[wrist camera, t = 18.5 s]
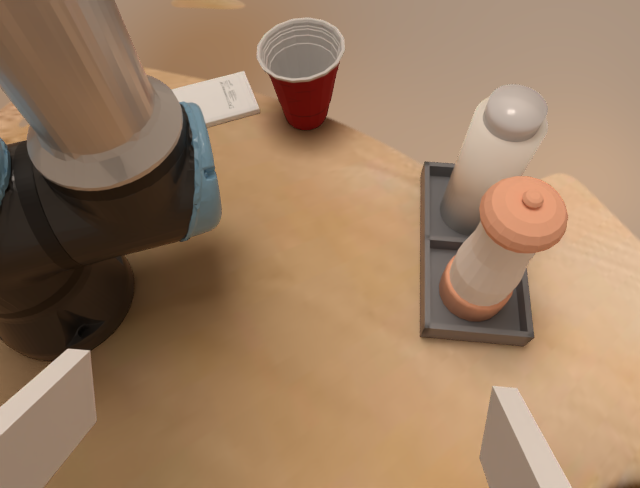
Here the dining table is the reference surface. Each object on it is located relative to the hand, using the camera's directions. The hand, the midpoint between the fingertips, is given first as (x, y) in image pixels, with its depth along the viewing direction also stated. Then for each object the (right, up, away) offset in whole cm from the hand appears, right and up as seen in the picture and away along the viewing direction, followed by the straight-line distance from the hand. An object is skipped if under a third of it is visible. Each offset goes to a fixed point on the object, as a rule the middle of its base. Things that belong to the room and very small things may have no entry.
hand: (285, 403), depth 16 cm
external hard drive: (-15, +25, +55) cm, 62 cm away
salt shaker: (+19, +9, +44) cm, 49 cm away
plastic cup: (-1, +23, +53) cm, 58 cm away
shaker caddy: (+19, +4, +42) cm, 47 cm away
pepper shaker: (+18, 0, +39) cm, 43 cm away
